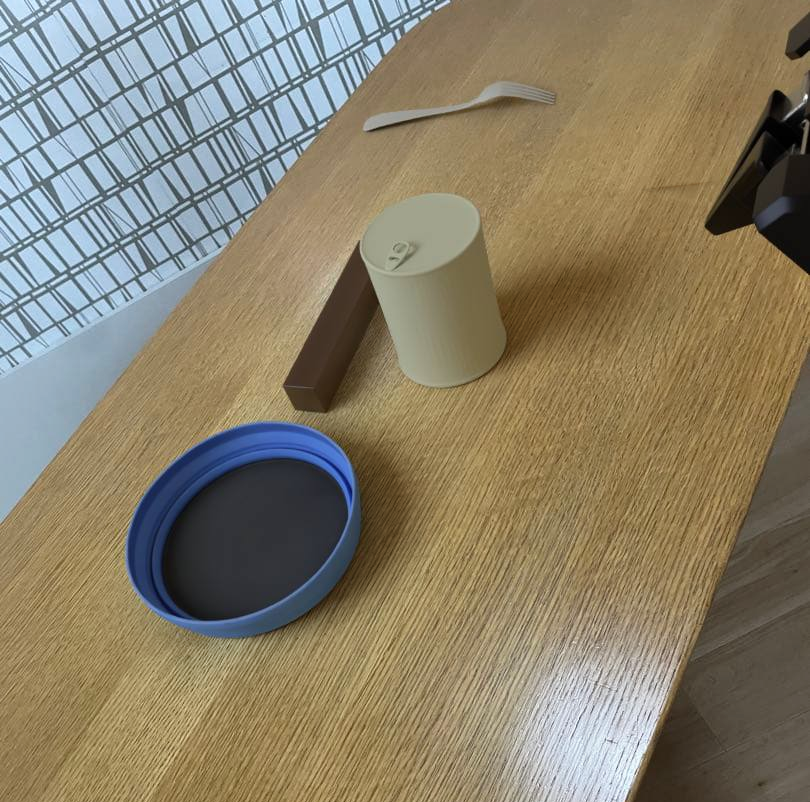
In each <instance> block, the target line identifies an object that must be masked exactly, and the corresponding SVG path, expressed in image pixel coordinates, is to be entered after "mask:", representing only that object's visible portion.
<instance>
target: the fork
mask: <svg viewBox="0 0 810 802" xmlns="http://www.w3.org/2000/svg"><path fill="white" fill-rule="evenodd" d="M555 96H556V93H554V92H551V91H548V90H546V89H543V88H539V87H537V86H534V85H529V84H524V83H521V82H518V81H509V80H500V81H496V82H493V83H491V84H489V85H487V86H485V88H484V89H483V90H482V91H481V93H479V95H477V96H476V98H474V99H471V100H470V101H468V102H464V103H459V104H454V105H453V104H452V105H447V106H440V107H431V108H423V109H422V108H421V109H408V110H407V109H406V110H396V111H389V112H382V113H379V114H376V115H373V116H370V117H369V118H367V119H366V121H365V122H364V124H363V126H362V130H363V131H364V132H369V131H372V130H375V129H378V128H382V127H385V126H389V125H394V124H397V123H402V122H406V121H411V120H415V119H419V118H425V117H429V116H434V115H440V114H447V113H451V112H456V111H461V110H465V109H467V108H471V107H472V106H474V105H477V104H479V103H484V102H486V101H490V100H491V99H494V98H497V97H514V98H520V99H526V100H532V101H536V102H541V103H545V104H549V105H553V106H554V105H555V103H554V102H555V99H556V97H555Z"/></svg>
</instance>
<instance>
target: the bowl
mask: <svg viewBox="0 0 810 802" xmlns="http://www.w3.org/2000/svg"><path fill="white" fill-rule="evenodd" d="M360 493H361V492H360V486H359V480H358V477H357V473H356V471H355V469H354V466H353V464H352V462H351V460H350V459H349V457H348V456H347V454H346V452H345V451H344V450H343V448H341V446H340V445H339V444H338V443H337V442H336V441H335V440H334V439H332V438H331V437H330V436H328V435H327V434H325V432H322V431H320V430H318V429H317V428H313V427H311V426H308V425H305V424H301V423H297V422H296V423H295V422H292V421H291V422H290V421H280V420H260V421H253V422H247V423H242V424H239V425H236V426H232V427H230V428H226V429H223V430H222V431H219V432H217V433H214V434H213V435H211V436H208V437H207V438H205V439H203V440H201V441H199V442H197V443H196V444H195V445H193V446H192V447H190V448H189V449H187V450H186V451H184V453H183V452H182V454H181V455H179V456H178V457H177V458H176V459H174V460H173V461H172V462H171V463H170V464H169V465H168V466H167V467H166V468H165V469H163V471H162V472H160V474H159V475H158V476H157V477H156V478H155V479H154V480H153V482H152V483H151V484H150V485H149V487H148V488H147V489H146V491H145V492H144V494H143V496H142V497H141V498H140V500H139V502H138V503H137V506H136V508H135V510H134V512H133V514H132V517H131V520H130V523H129V526H128V530H127V534H126V538H125V539H126V540H125V550H124V552H125V555H124V556H125V557H124V558H125V567H126V572H127V576H128V579H129V581H130V584H131V586H132V588H133V590H134V591H135V593H136V594H137V595H138V597H139V598H140V600H142V602H143V603H144V604H145V605H146V606H147V608H149V609H150V610H151V611H152V612H153V613H154V614H156V615H157V616H159V617H160V618H162V619H163V620H165V621H167V622H169V623H172V624H173V625H176V626H178V627H180V628H183V629H186V630H188V631H191V632H193V633H196V634H198V635H201V636H202V635H203V636H206V637H211V638H218V639H239V638H247V637H253V636H258V635H261V634H265V633H268V632H271V631H273V630H277V629H278V628H281V627H285V626H286V625H288V624H290V623H291V622H293V621H295V620H297V619H298V618H300V617H302V616H303V615H304V614H306V613H308V612H309V611H310V610H311V609H313V608H314V607H316V606H317V605H318V604H319V603H320V602H321V601H322V600H324V598H325V597H327V595H329V593H330V592H331V591H332V590H333V589H334V588H335V586H336V585H337V584H338V583H339V581H340V580H341V579H342V577H343V576H344V574H345V572H346V571H347V569H348V568H349V566H350V564H351V562H352V559H353V557H354V555H355V553H356V550H357V547H358V544H359V540H360V537H361V529H362V509H361V494H360Z"/></svg>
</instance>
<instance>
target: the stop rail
mask: <svg viewBox="0 0 810 802" xmlns="http://www.w3.org/2000/svg"><path fill="white" fill-rule="evenodd" d="M360 241H361V239H359V240H358V241H357V243H356V245H355V247H354V249H353V251H352V252H351V254H350V256H349V258H348V260H347V262H346V264H345V265H344V267H343V270H342V272H341V273H340V275H339V277H338V279H337V281H336V282H335V284H334V287H333V288H332V291H330V294H329V296H328V298H327V300H326V302H325V304H324V306H323V307H322V310H321V311H320V313H319V315H318V317H317V319H316V321H315V323H314V325H313V327H312V329H311V331H310V332H309V334H308V336H307V337H306V340H305V341H304V343H303V345H302V348H301V350H300V351H299V353H298V355H297V357H296V359H295V361H294V362H293V364H292V366H291V368H290V370H289V372H288V374H287V375H286V378H285V380H284V381H283V383H282V388H283V390H284V392H285V394H286V396H287V397H288V399H289V401H290V403H291V405H292V407H293V409H294V411H300V412H309V413H320V414H326V413H327V412H328V410H329V408H330V406H331V404H332V401H333V400H334V397H335V396H336V393H337V391H338V390H339V387H340V385H341V383H342V382H343V379H344V377H345V376H346V373H347V371H348V369H349V367H350V365H351V363H352V360H353V358H354V356H355V354H356V352H357V350H358V348H359V346H360V344H361V342H362V340H363V338H364V335H365V334H366V332H367V330H368V327H369V325H370V323H371V321H372V319H373V316H374V315H375V312H376V310H377V308H378V307H379V306H380V302H379V299H378V297H377V294H376V291H375V289H374V286H373V283H372V281H371V278H370V275H369V272H368V270H367V267H366V265H365V262H364V261H363V259H362V257H361V253H360Z"/></svg>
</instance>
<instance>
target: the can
mask: <svg viewBox="0 0 810 802" xmlns="http://www.w3.org/2000/svg"><path fill="white" fill-rule="evenodd" d="M483 229H484V228H483V219H482V215H481V211H480V210H479V208H478V207H477V205H476V204H475V203H474V202H472V201H471V200H470V199H468V198H467V197H464V196H462V195H459V194H455V193H451V192H429V193H422V194H417V195H414V196H411V197H407V198H405V199H403V200H400V201H398V202H395V203H394V204H392V205H390V206H388V207H386V208H385V209H384V210H382V211H381V212H379V214H377V215H376V216H375V217H374V218H373V219H372V220H371V221H370V222H369V224H368V225H367V226H366V228H365V229H364V230H363V233H362V235H361V238H360V240H361V241H360V253H361V257H362V259H363V261H364V262H365V265H366V267H367V270H368V272H369V275H370V278H371V281H372V283H373V286H374V289H375V291H376V294H377V297H378V299H379V302H380V303H379V306H380V308H381V310H382V313H383V316H384V319H385V322H386V325H387V328H388V330H389V333H390V336H391V340H392V341H393V345H394V349H395V352H396V353H397V354H396V355H397V362H398V365H399V368H400V370H401V371H402V373H403V374H404V375H405V376H406V377H407V378H408V379H409V380H410V381H412V382H414V383H416V384H418V385H420V386H423V387H428V388H432V389H433V388H434V389H446V388H454V387H458V386H462V385H466V384H468V383H470V382H471V383H472V382H473V381H475V380H477V379H479V378H480V377H482V376H483V375H485V374H486V373H488V372H489V371H490V370H491V369H493V368H494V367H495V366H496V364H497V363H498V362H499V360H501V357H503V354H504V352H505V350H506V345H507V340H508V339H507V331H506V328H505V325H504V324H503V320H502V317H501V313H500V309H499V303H498V298H497V295H496V288H495V285H494V280H493V276H492V270H491V266H490V261H489V256H488V250H487V245H486V240H485V236H484V230H483Z"/></svg>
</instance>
